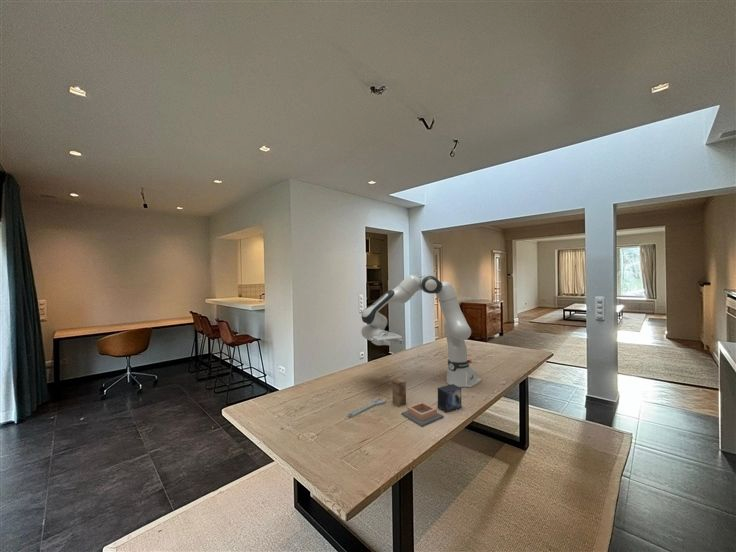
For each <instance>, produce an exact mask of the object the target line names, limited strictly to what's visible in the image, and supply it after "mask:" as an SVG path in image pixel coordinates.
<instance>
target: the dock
mask: <svg viewBox="0 0 736 552" xmlns="http://www.w3.org/2000/svg"><path fill="white" fill-rule="evenodd" d="M400 414H401V416H402V415H403V417H404V418H405V419H407V418H408V420H409V421H411V422H412V421H413V423H414V424H416V425H417V424H418V425H417V426H419V425H420V426H419V427H421V428H423V427H425V425H426V426H428V425H430V424H433V423H435V422H438V421H440V420H442V419H444V417H445V416H444V415H443V414H441V413H439V412H438V408H436V407H434V406H432V405H429V404H427V403H426V402H423V401H421V402H419V403H418V402H417V403H415V404H413V405H409V406H407V410H406V411H402V412H401V413H400ZM439 419H440V420H439ZM437 420H438V421H437Z"/></svg>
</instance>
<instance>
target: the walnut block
mask: <svg viewBox="0 0 736 552" xmlns="http://www.w3.org/2000/svg"><path fill="white" fill-rule="evenodd" d="M391 383H392V384H391V388H392V389H391V390H392V393H391V394H392V404H393V405H395V406H396V407H398V408H400V407H402V406H405V404H406V405H407V388H406V387H407V385H406V384H407V383H406V380H403V379H402V378H397V379H393V380H392V381H391Z"/></svg>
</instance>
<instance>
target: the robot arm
mask: <svg viewBox="0 0 736 552" xmlns="http://www.w3.org/2000/svg"><path fill="white" fill-rule="evenodd" d="M418 291H423V292H424V293H426V294H430V295H431V294H435V295H436V297H437V300H438V303H439V306H440V309H441V313H442V315H443V317H444V318H445V322H444V324H443V327H444V331H445V337H446V343H447V348H448V349H447V351H448V359H447V365H448V366H447V370H446V371H447V373H446V377H445V380H446V384H448V385H451V384H454V385H456V386H458V387H460V388H465V387H466V388H472V387H474V386H475V385H477V384H479V383H481V381H482V378H480V377H478V373H477V371H476V370H475V368H473V367H471V365H470V364H472V363H473V362H472V360H471V359H468V349H467V348H468V347H467V344H466V342H465V341H466V340H468V339H469V338H470V336H471V335H472V328H471V327H470V326H469V324H468V322H467V319H466V317H465V315H464V314H463V312H462V310H461V307H460V303H459V300H458V297H457V294H456V291H455V289H454V287H453V284H452V283H451V282H449V281H440V280H439V279H438V278H437V277H436V276H434V275H431V274H426V275H422V276H420V277H418V275H415V274H409V275H407V277H406V278H404V279H403V280H402V281H401V282H400V283H399V284H398V285H397V286H396V287H395V288H392V289H390V290H387V291H386V292H384V293H383V294H382V295H381V296H380V297H378V299H376V300H375V301H373V302H372V304H370V305H369V306H367V307H366V308H365V309H363V310H362V312H361V321H362V323H364V324H366V325H363V326H362V327H361V331H360V332H361V336H362V337H363V338H364V339H365V340H368V341H370V342H371V343H372V344H374V345H375V346H389V347H390V346H392V345H394V344H395V345H396V344H400V345H403V344H404V340H403V339H404V338H403V336H402V335H400V334H398V333H394V331H392V330H386V328H387V326H388V318H387V317H386V316H385V315H383V314H382V313H381V312H380V310H381V309H382V308H383V307H385V306H386V305H387V304H389V303H397V304H405V303H407V302H408V301H410V300H411V299H412V298H413V296H414V295H415V294H416V293H417V292H418Z"/></svg>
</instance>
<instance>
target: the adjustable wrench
mask: <svg viewBox="0 0 736 552" xmlns="http://www.w3.org/2000/svg"><path fill="white" fill-rule="evenodd" d="M380 399H381V398H380V397H376V398H373V399H372V400H371V402H370V403H368V404H366V405H364V406H362V407H360V408H358V409H356V410H353V411H351V412H349V413H347V417H348V418H349V419H352V418H354V417H356V416H359V415H360V414H362V413H364V412H366V411H368V410H370V409H372V408H374V407H377V406H383V405H385V404H387V400H386V398H383V400H380Z"/></svg>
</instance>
